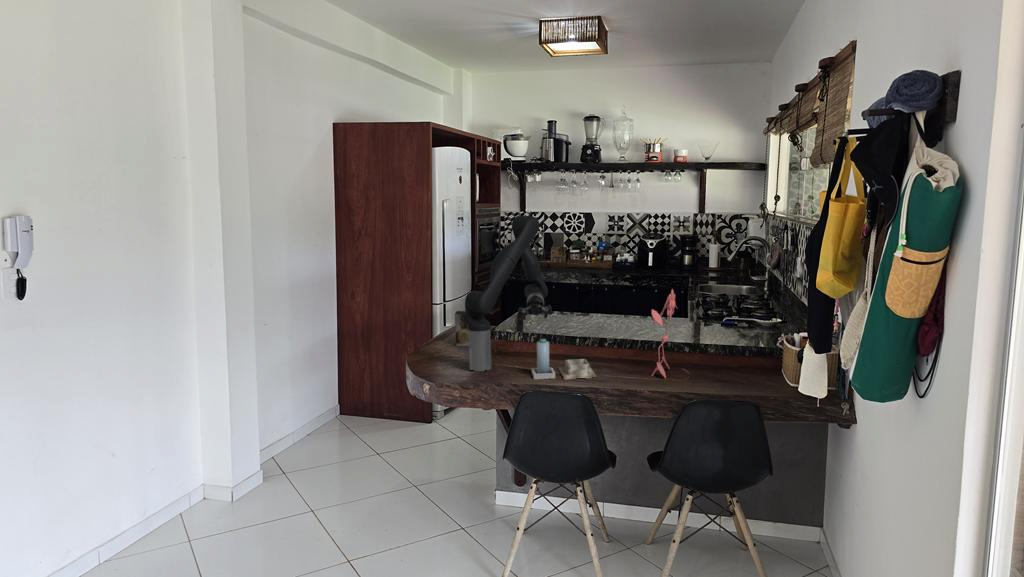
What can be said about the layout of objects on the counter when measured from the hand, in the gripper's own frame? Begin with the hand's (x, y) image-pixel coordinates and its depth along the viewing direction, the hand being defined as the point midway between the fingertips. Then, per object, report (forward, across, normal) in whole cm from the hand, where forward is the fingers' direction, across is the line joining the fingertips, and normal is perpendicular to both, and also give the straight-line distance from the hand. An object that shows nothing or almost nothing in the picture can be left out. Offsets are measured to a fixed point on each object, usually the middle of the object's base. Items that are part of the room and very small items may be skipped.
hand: (534, 317), depth 294 cm
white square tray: (+12, +2, +21) cm, 24 cm away
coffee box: (-39, -36, +27) cm, 59 cm away
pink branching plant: (+12, +53, +25) cm, 60 cm away
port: (+10, +16, +22) cm, 29 cm away
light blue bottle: (+12, +2, +21) cm, 24 cm away
